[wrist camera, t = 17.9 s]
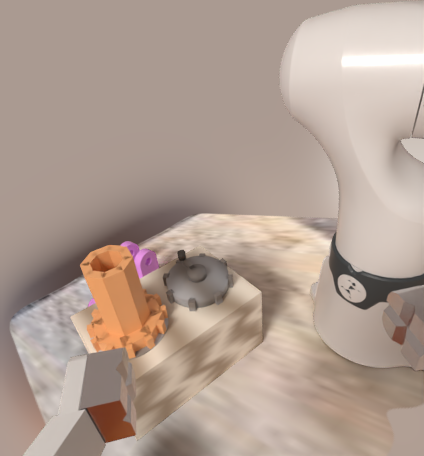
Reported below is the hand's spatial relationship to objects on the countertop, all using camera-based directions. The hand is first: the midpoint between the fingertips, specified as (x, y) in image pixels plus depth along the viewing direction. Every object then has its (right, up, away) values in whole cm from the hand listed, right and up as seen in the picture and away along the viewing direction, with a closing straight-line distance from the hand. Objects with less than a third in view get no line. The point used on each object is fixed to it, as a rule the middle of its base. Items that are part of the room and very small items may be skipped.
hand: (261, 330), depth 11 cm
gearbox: (-6, -14, +38) cm, 41 cm away
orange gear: (-11, -8, +30) cm, 33 cm away
